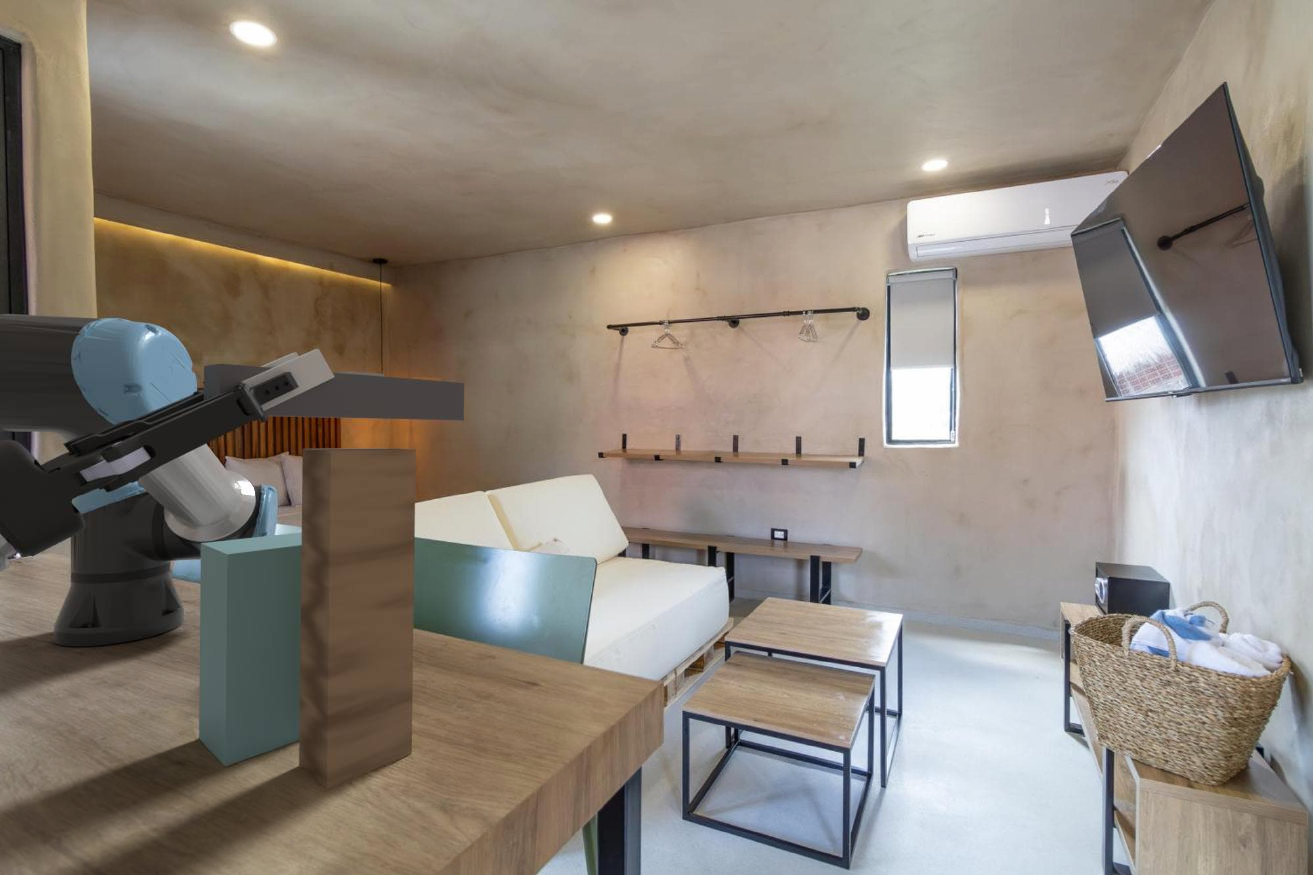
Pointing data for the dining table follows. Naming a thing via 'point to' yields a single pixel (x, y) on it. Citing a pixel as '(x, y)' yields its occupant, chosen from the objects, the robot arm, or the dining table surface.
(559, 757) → the dining table surface
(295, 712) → the teal block
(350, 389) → the power strip
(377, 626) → the walnut stand
